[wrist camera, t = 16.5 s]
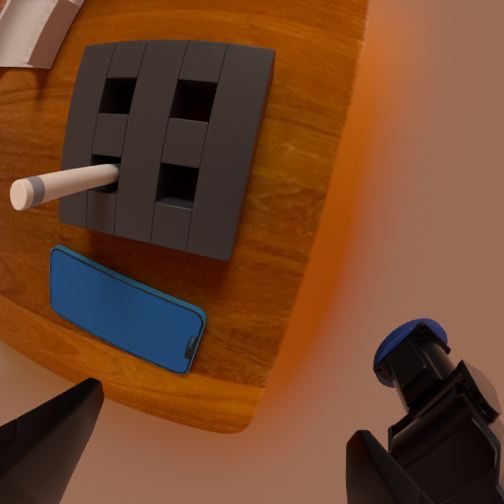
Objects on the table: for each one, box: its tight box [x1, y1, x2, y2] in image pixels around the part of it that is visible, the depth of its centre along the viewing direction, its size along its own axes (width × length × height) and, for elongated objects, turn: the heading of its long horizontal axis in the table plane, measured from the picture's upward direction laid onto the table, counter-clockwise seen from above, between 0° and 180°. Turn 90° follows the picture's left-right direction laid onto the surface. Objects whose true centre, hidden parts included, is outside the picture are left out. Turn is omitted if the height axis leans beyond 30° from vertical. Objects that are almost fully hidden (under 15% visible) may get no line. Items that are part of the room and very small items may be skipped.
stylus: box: [10, 162, 121, 211], centre depth 13 cm, size 1×1×11 cm
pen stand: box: [59, 40, 275, 262], centre depth 15 cm, size 12×12×4 cm
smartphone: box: [50, 245, 207, 374], centre depth 22 cm, size 7×1×15 cm
